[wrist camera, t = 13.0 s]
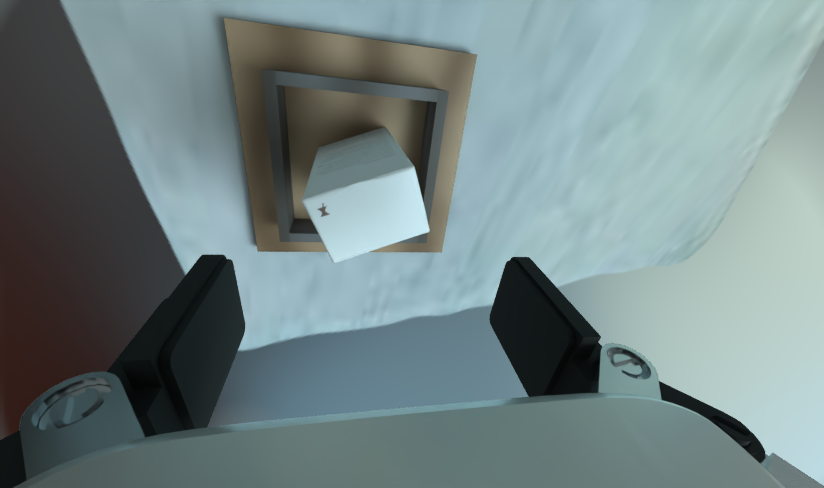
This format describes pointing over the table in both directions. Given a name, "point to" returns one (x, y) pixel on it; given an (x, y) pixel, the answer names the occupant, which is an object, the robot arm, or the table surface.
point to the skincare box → (364, 195)
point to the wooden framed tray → (341, 119)
